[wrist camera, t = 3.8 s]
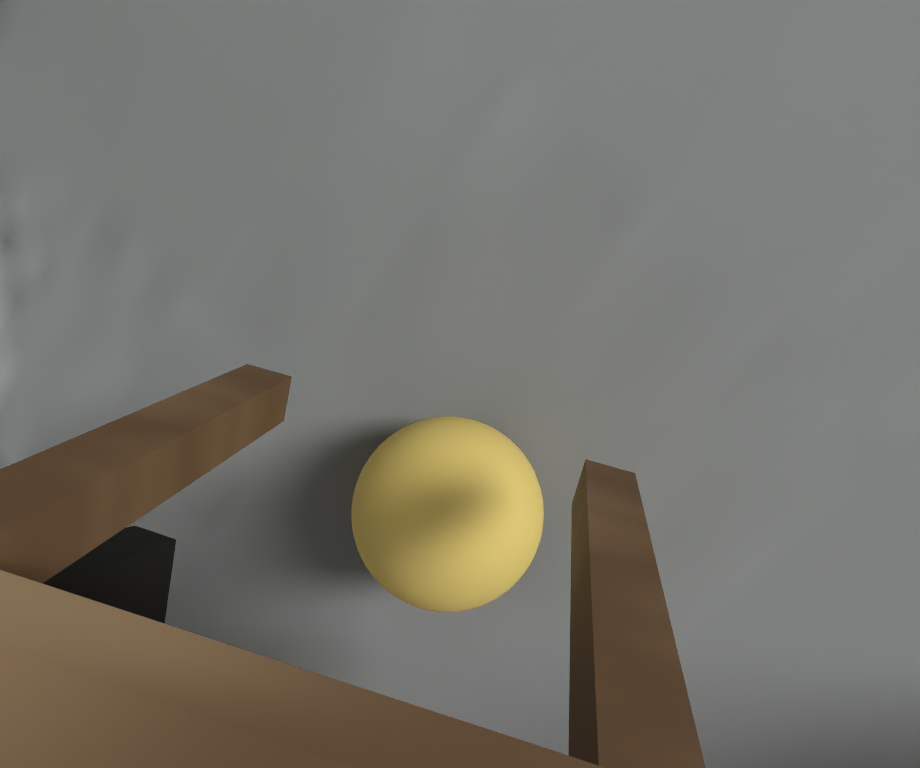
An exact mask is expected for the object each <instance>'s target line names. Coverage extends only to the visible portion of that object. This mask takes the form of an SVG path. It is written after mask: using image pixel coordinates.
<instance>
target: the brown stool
mask: <svg viewBox="0 0 920 768" xmlns="http://www.w3.org/2000/svg"><path fill="white" fill-rule="evenodd" d="M290 383H291V376H287V375H284V374H280V373H277V372H273V371H270V370H266V369H262V368H259V367H255V366H252V365H248V364H246V365H244V366H242V367H239V368H237V369H235V370H232V371H230V372H228V373H225V374H223V375H221V376H218V377H216V378H214V379H211V380H209V381H207V382H204V383H202V384H200V385H197V386H195V387H193V388H190V389H188V390H186V391H183V392H181V393H178V394H176V395H174V396H171V397H169V398H167V399H164V400H162V401H160V402H157V403H155V404H153V405H150V406H148V407H146V408H143V409H141V410H139V411H136V412H134V413H132V414H129V415H127V416H125V417H122V418H120V419H118V420H115V421H113V422H110V423H108V424H106V425H103V426H101V427H99V428H96V429H94V430H92V431H89V432H87V433H85V434H82V435H80V436H78V437H75V438H73V439H71V440H68V441H66V442H64V443H61V444H59V445H57V446H54V447H52V448H50V449H47V450H45V451H42V452H40V453H38V454H35V455H33V456H31V457H28V458H26V459H24V460H21V461H19V462H17V463H14V464H12V465H10V466H7V467H5V468H3V469H0V768H705V765H704V761H703V757H702V752H701V748H700V744H699V740H698V736H697V731H696V727H695V723H694V719H693V715H692V710H691V706H690V702H689V698H688V694H687V689H686V685H685V681H684V677H683V673H682V668H681V664H680V660H679V656H678V652H677V648H676V643H675V639H674V635H673V631H672V627H671V622H670V618H669V614H668V610H667V606H666V601H665V597H664V593H663V589H662V585H661V580H660V576H659V572H658V568H657V564H656V559H655V555H654V551H653V547H652V543H651V539H650V534H649V530H648V526H647V522H646V518H645V513H644V509H643V505H642V501H641V497H640V492H639V488H638V484H637V480H636V476H635V473H632V472H628V471H625V470H621V469H618V468H614V467H611V466H607V465H604V464H600V463H597V462H593V461H589V460H585V463H584V466H583V470H582V473H581V476H580V479H579V483H578V486H577V489H576V492H575V496H574V499H573V502H572V537H571V615H570V693H569V756H568V755H565V754H562V753H558V752H555V751H552V750H549V749H546V748H543V747H540V746H537V745H534V744H531V743H528V742H525V741H522V740H519V739H516V738H513V737H510V736H506V735H503V734H500V733H497V732H494V731H491V730H488V729H485V728H482V727H479V726H476V725H473V724H470V723H467V722H464V721H461V720H458V719H455V718H451V717H448V716H445V715H442V714H439V713H436V712H433V711H430V710H427V709H424V708H421V707H418V706H415V705H412V704H409V703H406V702H403V701H400V700H396V699H393V698H390V697H387V696H384V695H381V694H378V693H375V692H372V691H369V690H366V689H363V688H360V687H357V686H354V685H351V684H348V683H345V682H341V681H338V680H335V679H332V678H329V677H326V676H323V675H320V674H317V673H314V672H311V671H308V670H305V669H302V668H299V667H296V666H293V665H290V664H286V663H283V662H280V661H277V660H274V659H271V658H268V657H265V656H262V655H259V654H256V653H253V652H250V651H247V650H244V649H241V648H238V647H234V646H231V645H228V644H225V643H222V642H219V641H216V640H213V639H210V638H207V637H204V636H201V635H198V634H195V633H192V632H189V631H186V630H183V629H179V628H176V627H173V626H170V625H167V624H164V623H161V622H158V621H155V620H152V619H149V618H146V617H143V616H140V615H137V614H134V613H131V612H128V611H124V610H121V609H118V608H115V607H112V606H109V605H106V604H103V603H100V602H97V601H94V600H91V599H88V598H85V597H82V596H79V595H76V594H73V593H69V592H66V591H63V590H60V589H57V588H54V587H51V586H48V585H45V584H43V583H44V582H45V581H47V580H48V579H50V578H51V577H53V576H54V575H56V574H57V573H59V572H60V571H62V570H63V569H65V568H66V567H68V566H69V565H71V564H72V563H74V562H75V561H77V560H78V559H80V558H81V557H83V556H84V555H86V554H87V553H89V552H90V551H91V550H93V549H94V548H96V547H97V546H99V545H100V544H102V543H103V542H105V541H106V540H108V539H109V538H111V537H112V536H114V535H115V534H117V533H118V532H120V531H121V530H123V529H124V528H126V527H127V526H129V525H130V524H132V523H133V522H134V521H136V520H137V519H139V518H140V517H142V516H143V515H145V514H146V513H148V512H149V511H151V510H152V509H154V508H155V507H157V506H158V505H160V504H161V503H163V502H164V501H166V500H167V499H169V498H170V497H172V496H173V495H175V494H176V493H177V492H179V491H180V490H182V489H183V488H185V487H186V486H188V485H189V484H191V483H192V482H194V481H195V480H197V479H198V478H200V477H201V476H203V475H204V474H206V473H207V472H209V471H210V470H212V469H213V468H215V467H216V466H218V465H219V464H221V463H222V462H223V461H225V460H226V459H228V458H229V457H231V456H232V455H234V454H235V453H237V452H238V451H240V450H241V449H243V448H244V447H246V446H247V445H249V444H250V443H252V442H253V441H255V440H256V439H258V438H259V437H261V436H262V435H264V434H265V433H266V432H268V431H269V430H271V429H272V428H274V427H275V426H277V425H278V424H280V423H281V422H283V421H284V417H285V411H286V405H287V400H288V394H289V388H290Z"/></svg>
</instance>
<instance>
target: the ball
mask: <svg viewBox="0 0 920 768" xmlns="http://www.w3.org/2000/svg"><path fill="white" fill-rule="evenodd" d="M543 518H544V509H543V498H542V494H541V489H540V486H539V483H538V480H537V477H536V474H535V472H534V470H533V468H532V466H531V464H530V463H529V461H528V460H527V458H526V457H525V455H524V454H523V453H522V451H521V450H520V449H519V448H518V447H517V446H516V445H515V444H514V443H513V442H512V441H511V440H510V439H509V438H507V437H506V436H505V435H503V434H502V433H500V432H499V431H497V430H496V429H494V428H492V427H490V426H488V425H486V424H484V423H481V422H478V421H475V420H472V419H467V418H463V417H453V416H444V417H434V418H428V419H424V420H421V421H418V422H414V423H412V424H410V425H407V426H405V427H403V428H401V429H400V430H398V431H397V432H395V433H394V434H392V435H391V436H389V437H388V438H387V439H386V440H385V441H384V442H382V443H381V444H380V445H379V446H378V448H377V449H376V450H375V451H374V452H373V453H372V455H371V456H370V457H369V459H368V460H367V462H366V464H365V465H364V467H363V469H362V471H361V473H360V475H359V478H358V480H357V483H356V487H355V490H354V493H353V500H352V514H351V522H352V529H353V535H354V539H355V542H356V546H357V549H358V551H359V554H360V556H361V558H362V560H363V562H364V564H365V566H366V567H367V569H368V570H369V572H370V573H371V574H372V576H373V577H374V578H375V579H376V580H377V581H378V582H379V584H380V585H382V586H383V587H384V588H385V589H386V590H387V591H388V592H390V593H391V594H393V595H394V596H395V597H397V598H398V599H400V600H402V601H404V602H406V603H408V604H411V605H413V606H416V607H418V608H422V609H426V610H430V611H437V612H458V611H464V610H469V609H473V608H476V607H479V606H482V605H484V604H487V603H489V602H491V601H493V600H494V599H496V598H498V597H499V596H500V595H502V594H503V593H505V592H506V591H507V590H509V589H510V588H511V587H512V586H513V585H514V584H515V583H516V582H517V581H518V580H519V579H520V578H521V576H522V575H523V574H524V572H525V571H526V570H527V568H528V567H529V565H530V563H531V562H532V560H533V558H534V556H535V553H536V551H537V548H538V545H539V542H540V539H541V534H542V530H543Z"/></svg>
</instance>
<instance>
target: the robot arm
mask: <svg viewBox="0 0 920 768" xmlns="http://www.w3.org/2000/svg"><path fill="white" fill-rule="evenodd" d="M175 544H176V540H175V539H172V538H170V537H167V536H164V535H161V534H158V533H155V532H152V531H149V530H146V529H143V528H140V527H137V526H131V527H126V528H124V529H123V530H121V531H120V532H118V533H117V534H115V535H114V536H112V537H111V538H109V539H108V540H106V541H105V542H103V543H102V544H100V545H99V546H97V547H96V548H94V549H93V550H91V551H90V552H89V553H87V554H86V555H84V556H83V557H81V558H80V559H78V560H77V561H75V562H74V563H72V564H71V565H69V566H68V567H66V568H65V569H63V570H62V571H60V572H59V573H57V574H56V575H54V576H53V577H51V578H50V579H48V580H47V581H45V582H44V583H43V584H45V585H48V586H51V587H54V588H57V589H60V590H63V591H66V592H69V593H73V594H76V595H79V596H82V597H85V598H88V599H91V600H94V601H97V602H100V603H103V604H106V605H109V606H112V607H115V608H118V609H121V610H124V611H128V612H131V613H134V614H137V615H140V616H143V617H146V618H149V619H152V620H155V621H158V622H161V623H164V622H165V615H166V608H167V601H168V594H169V586H170V579H171V572H172V565H173V558H174V551H175Z"/></svg>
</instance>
